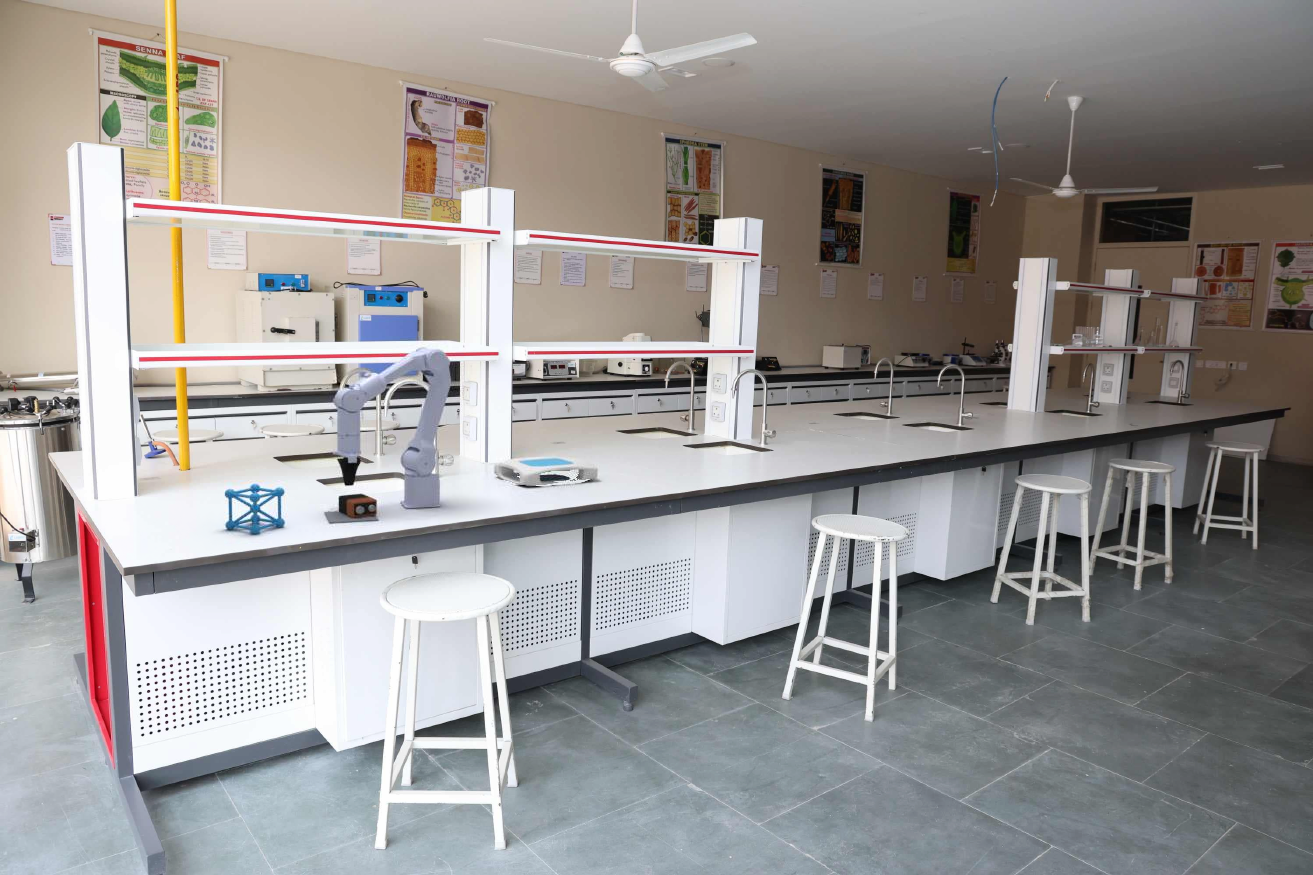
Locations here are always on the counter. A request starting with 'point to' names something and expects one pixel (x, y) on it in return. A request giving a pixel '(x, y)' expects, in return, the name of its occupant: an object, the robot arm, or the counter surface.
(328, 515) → the mat
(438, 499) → the robot arm
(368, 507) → the battery
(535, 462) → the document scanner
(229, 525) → the molecular structure
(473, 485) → the counter surface
